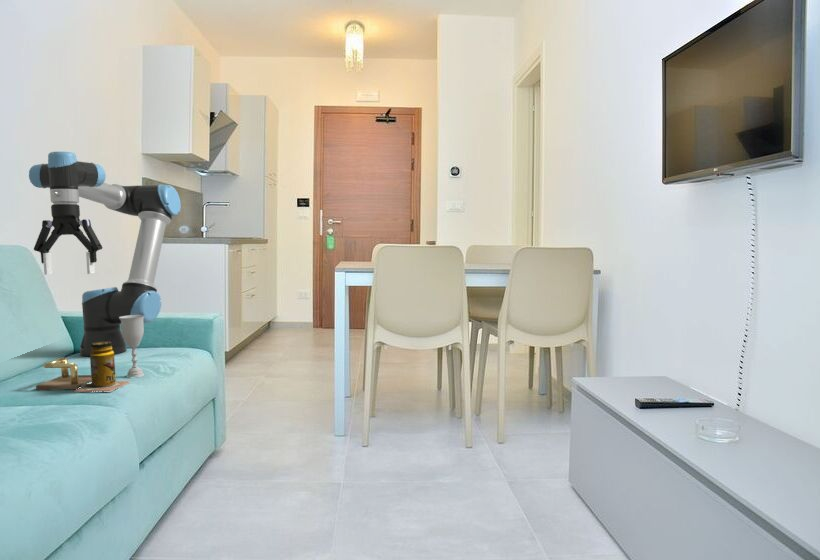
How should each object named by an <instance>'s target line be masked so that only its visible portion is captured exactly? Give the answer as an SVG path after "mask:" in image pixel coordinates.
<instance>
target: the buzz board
mask: <svg viewBox="0 0 820 560" xmlns="http://www.w3.org/2000/svg"><path fill="white" fill-rule="evenodd" d="M89 382H92V379H91V374H80V375H79V374H78V384H74V385H72V384H71V374H69V377H66V378H62V375H61V376H58V377H55V378H53V379H50V380H47V381H44V382H42V383H40V384H37V385H35V390H36V391H50V390H49V389H78V388H79V387H81V386H80V385H84V384H87V383H89Z"/></svg>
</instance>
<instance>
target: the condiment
mask: <svg viewBox="0 0 820 560" xmlns="http://www.w3.org/2000/svg"><path fill="white" fill-rule="evenodd" d="M91 351H92V352H91V354H90V356H89V359H90V361H89V364H90V375H91V379H92V383H91V384H84V385H80V386H81V387H83V388H84V389H86V390H94V389H99V388H106V387H112V386H117V385H120V384H119V383H116V382H115V381H117V379H116V364H115V363H116V362H115V354H114V352H113V351H112V343H111V342H96V343H92V344H91Z"/></svg>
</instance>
